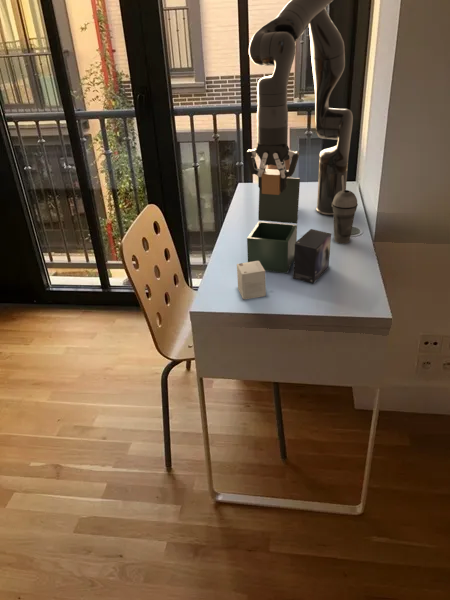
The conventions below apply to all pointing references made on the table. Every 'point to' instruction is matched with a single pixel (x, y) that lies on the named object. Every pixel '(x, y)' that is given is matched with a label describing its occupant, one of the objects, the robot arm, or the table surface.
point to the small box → (311, 255)
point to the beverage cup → (344, 214)
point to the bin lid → (280, 204)
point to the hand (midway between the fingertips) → (272, 190)
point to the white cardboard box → (251, 280)
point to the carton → (271, 182)
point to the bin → (272, 245)
